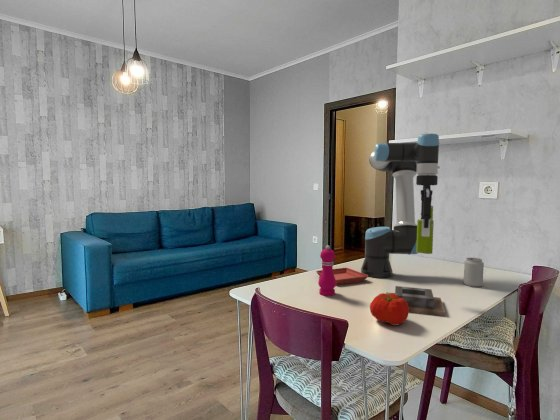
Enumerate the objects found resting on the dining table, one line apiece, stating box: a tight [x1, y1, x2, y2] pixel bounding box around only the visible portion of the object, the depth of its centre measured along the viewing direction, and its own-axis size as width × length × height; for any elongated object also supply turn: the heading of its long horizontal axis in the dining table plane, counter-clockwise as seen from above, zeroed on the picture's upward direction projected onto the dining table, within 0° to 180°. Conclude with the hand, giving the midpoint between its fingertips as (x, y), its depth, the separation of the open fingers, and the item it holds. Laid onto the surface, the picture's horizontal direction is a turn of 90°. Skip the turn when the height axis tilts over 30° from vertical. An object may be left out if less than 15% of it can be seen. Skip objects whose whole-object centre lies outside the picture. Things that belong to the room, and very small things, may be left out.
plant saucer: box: [315, 267, 368, 286], centre depth 169 cm, size 18×18×3 cm
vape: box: [416, 205, 435, 255], centre depth 139 cm, size 4×6×20 cm, turn 45°
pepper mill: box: [317, 244, 337, 297], centre depth 146 cm, size 7×7×20 cm
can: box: [463, 257, 485, 288], centre depth 160 cm, size 8×8×12 cm
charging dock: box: [385, 285, 446, 317], centre depth 133 cm, size 20×16×5 cm
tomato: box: [369, 292, 410, 326], centre depth 118 cm, size 13×12×8 cm
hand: (424, 235), depth 139 cm, fingers closed on vape, 5 cm apart
